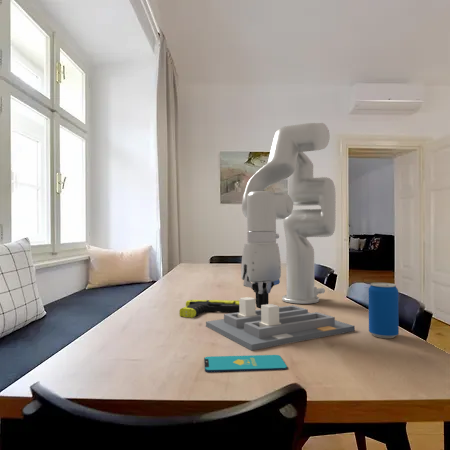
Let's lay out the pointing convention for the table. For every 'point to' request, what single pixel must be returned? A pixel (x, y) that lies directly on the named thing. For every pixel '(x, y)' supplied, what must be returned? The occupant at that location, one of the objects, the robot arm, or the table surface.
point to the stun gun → (208, 307)
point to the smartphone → (244, 363)
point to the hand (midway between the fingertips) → (262, 307)
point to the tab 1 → (247, 307)
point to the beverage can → (383, 310)
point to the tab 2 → (269, 315)
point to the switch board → (278, 327)
